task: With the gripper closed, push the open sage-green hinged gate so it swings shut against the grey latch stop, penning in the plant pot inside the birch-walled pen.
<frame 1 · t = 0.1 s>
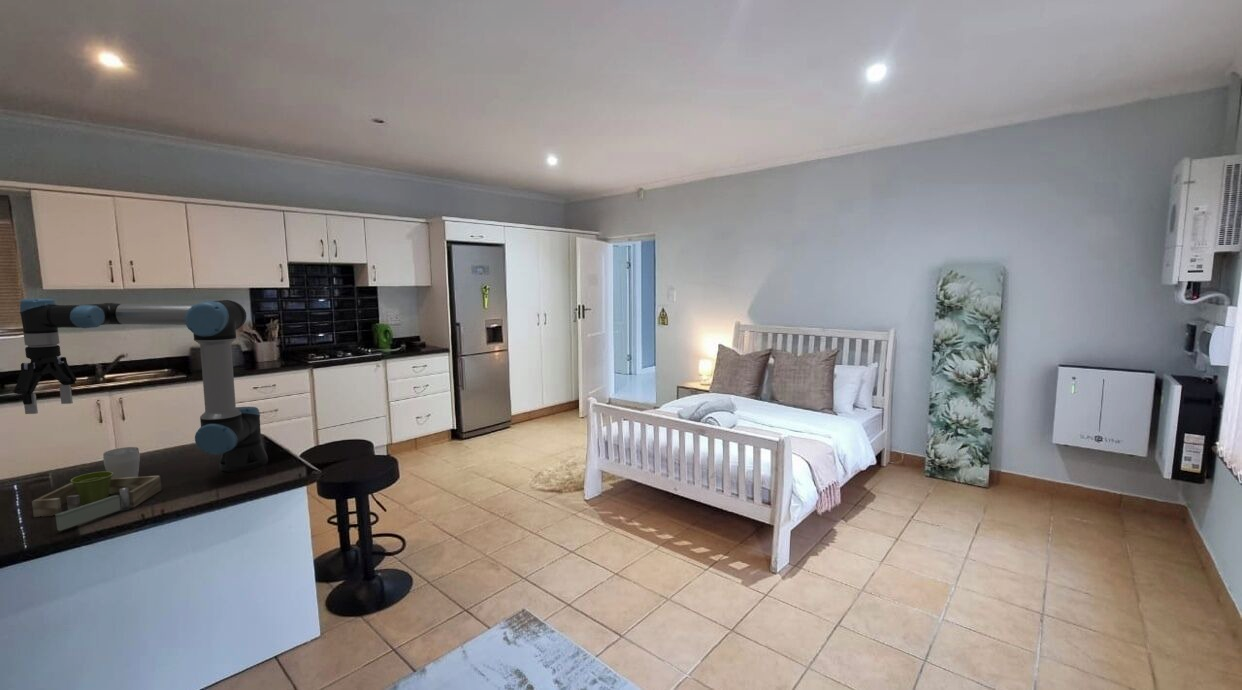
hand: (50, 408, 166), 28 cm above the table, fingers open, 13 cm apart
pen walls: (101, 502, 160), on the table
gate: (89, 512, 147), point 3 cm above the table, hinge at 60.0°
plant pot: (95, 502, 161), on the table
hinge post: (125, 509, 156), on the table
cup: (124, 484, 175), on the table
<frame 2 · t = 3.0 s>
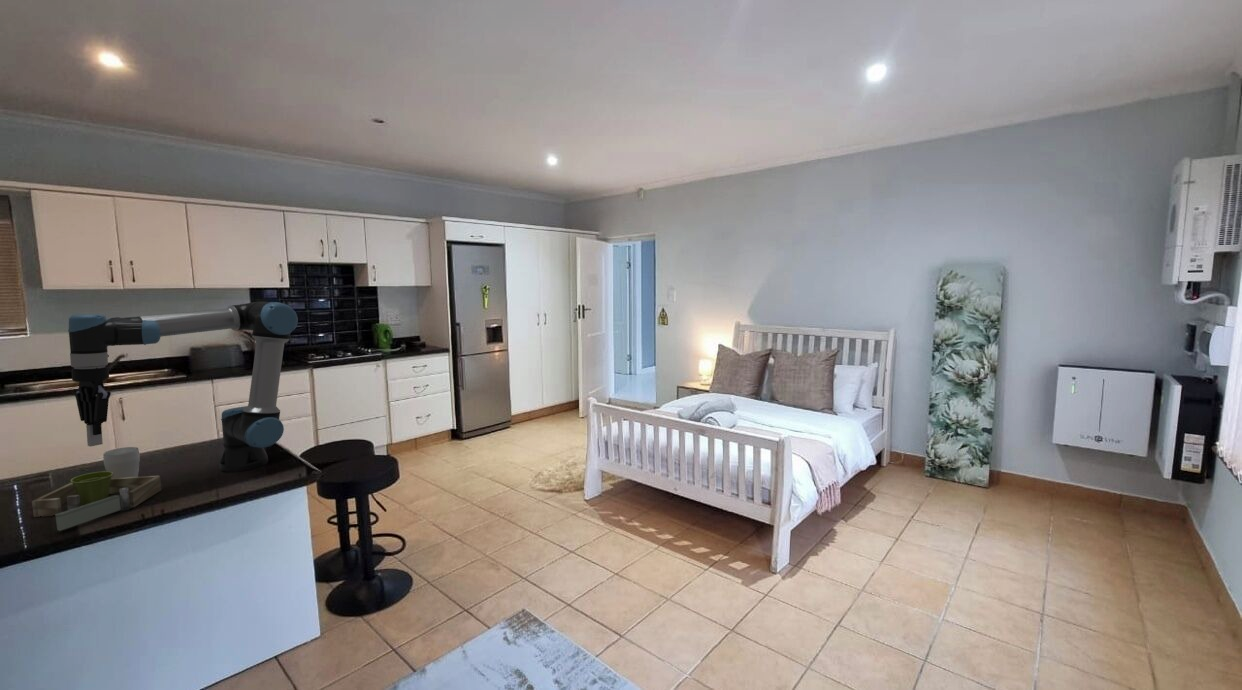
hand: (95, 444, 149), 23 cm above the table, fingers closed
nothing on the table moved.
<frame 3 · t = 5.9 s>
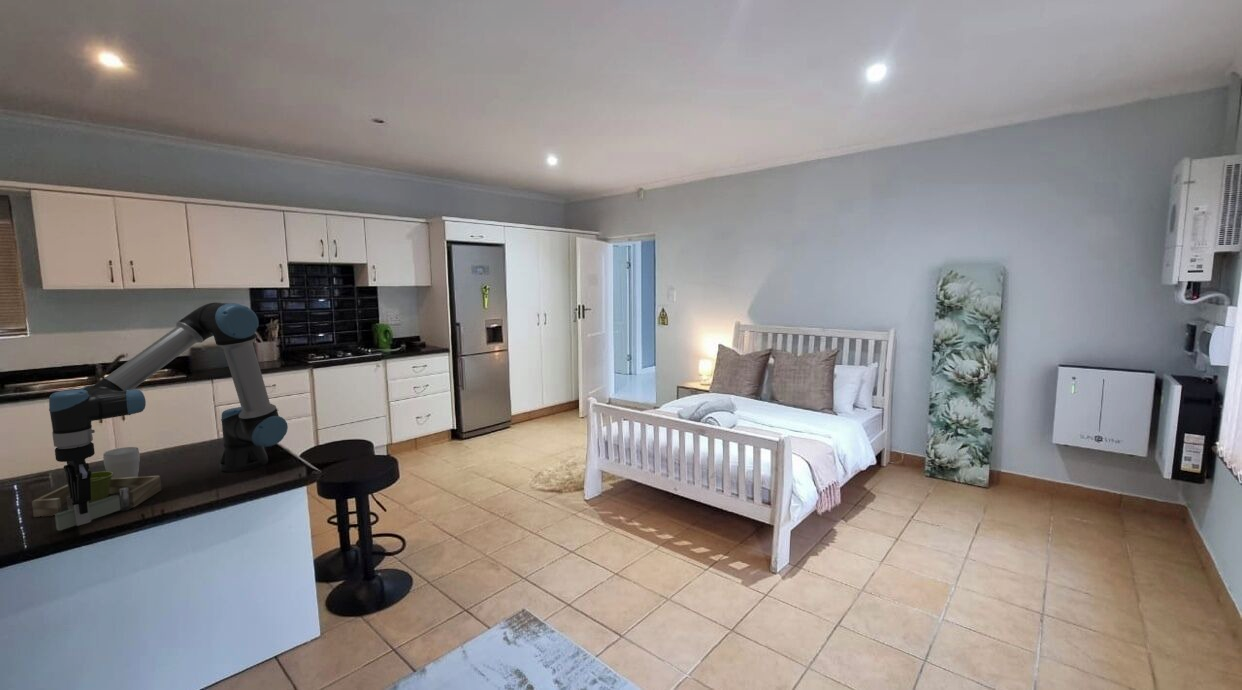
hand: (83, 523, 144), 1 cm above the table, fingers closed
gate: (89, 511, 147), point 3 cm above the table, hinge at 58.8°, touching gripper
everything else where it was.
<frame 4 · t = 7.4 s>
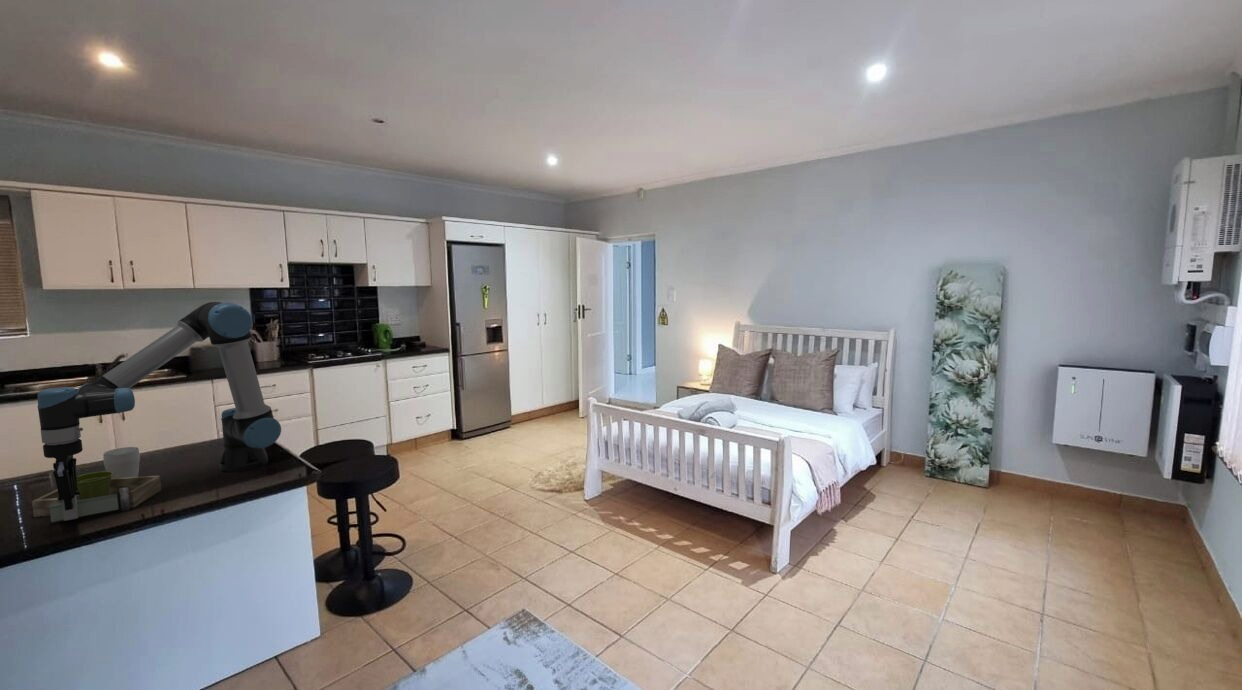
hand: (71, 518, 147), 1 cm above the table, fingers closed
gate: (85, 507, 150), point 3 cm above the table, hinge at 25.3°, touching gripper
everything else where it was.
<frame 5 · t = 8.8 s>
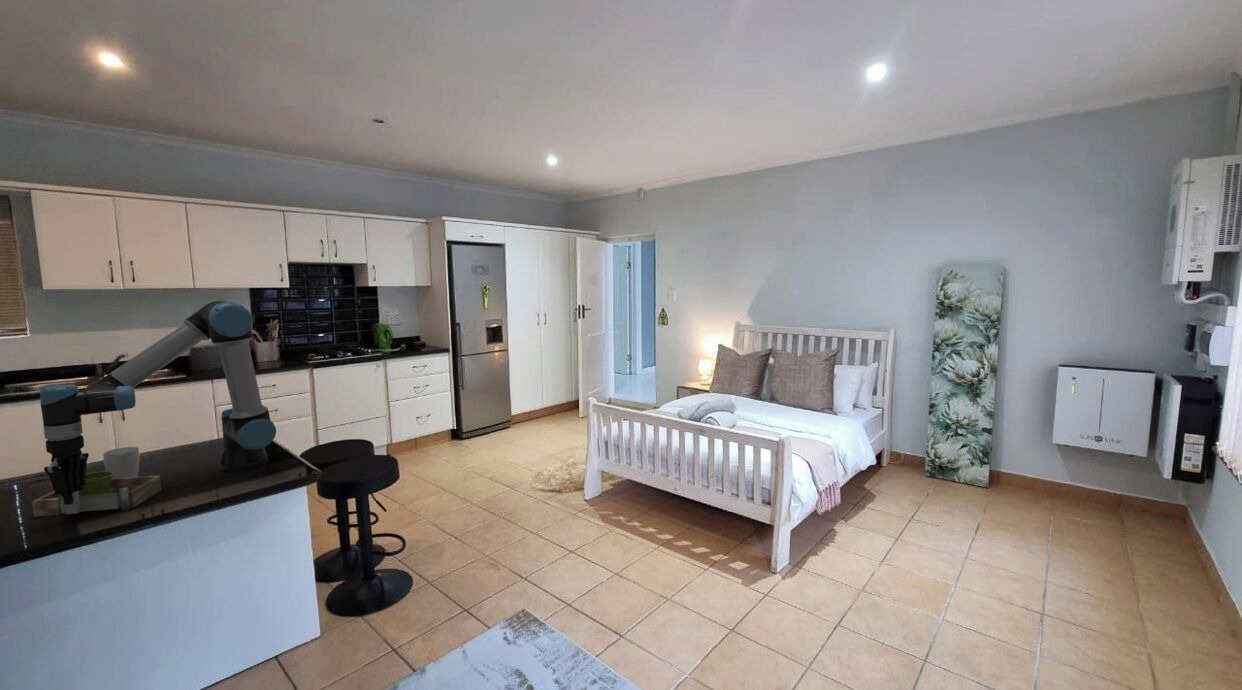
hand: (73, 512, 150), 1 cm above the table, fingers closed
gate: (90, 502, 153), point 3 cm above the table, hinge at 1.2°, touching gripper
everything else where it was.
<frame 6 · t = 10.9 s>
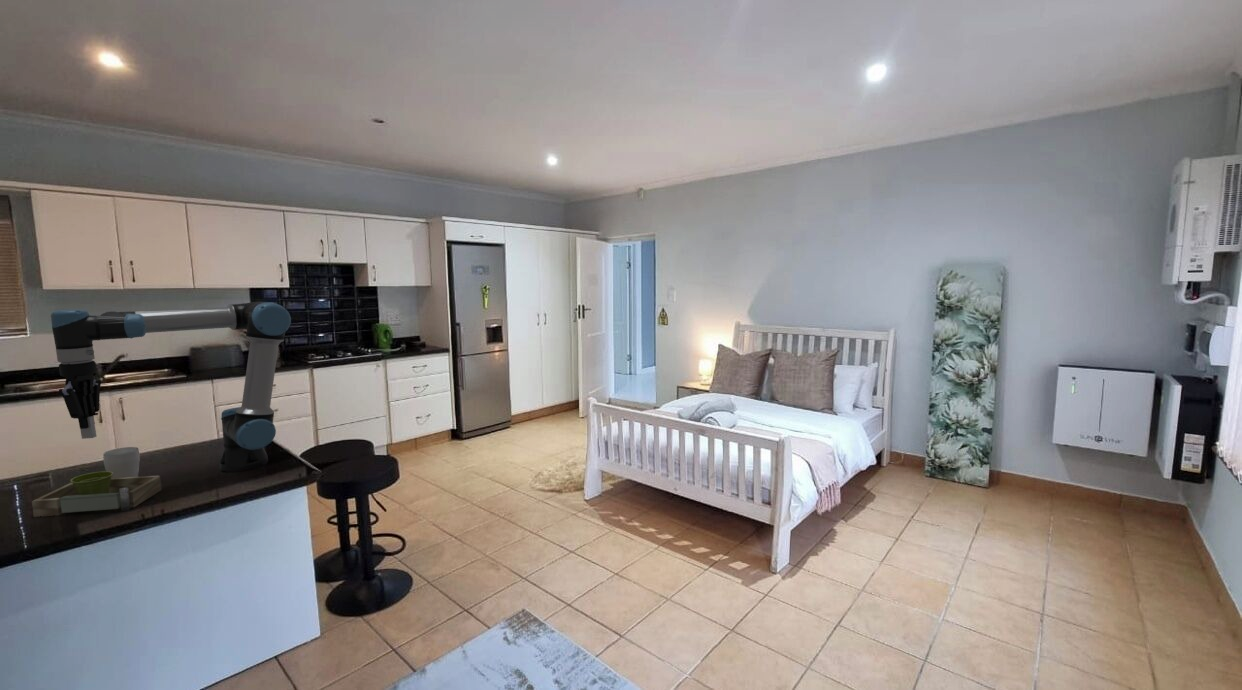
hand: (89, 437, 152), 24 cm above the table, fingers closed
gate: (91, 502, 153), point 3 cm above the table, hinge at 1.1°
everything else where it was.
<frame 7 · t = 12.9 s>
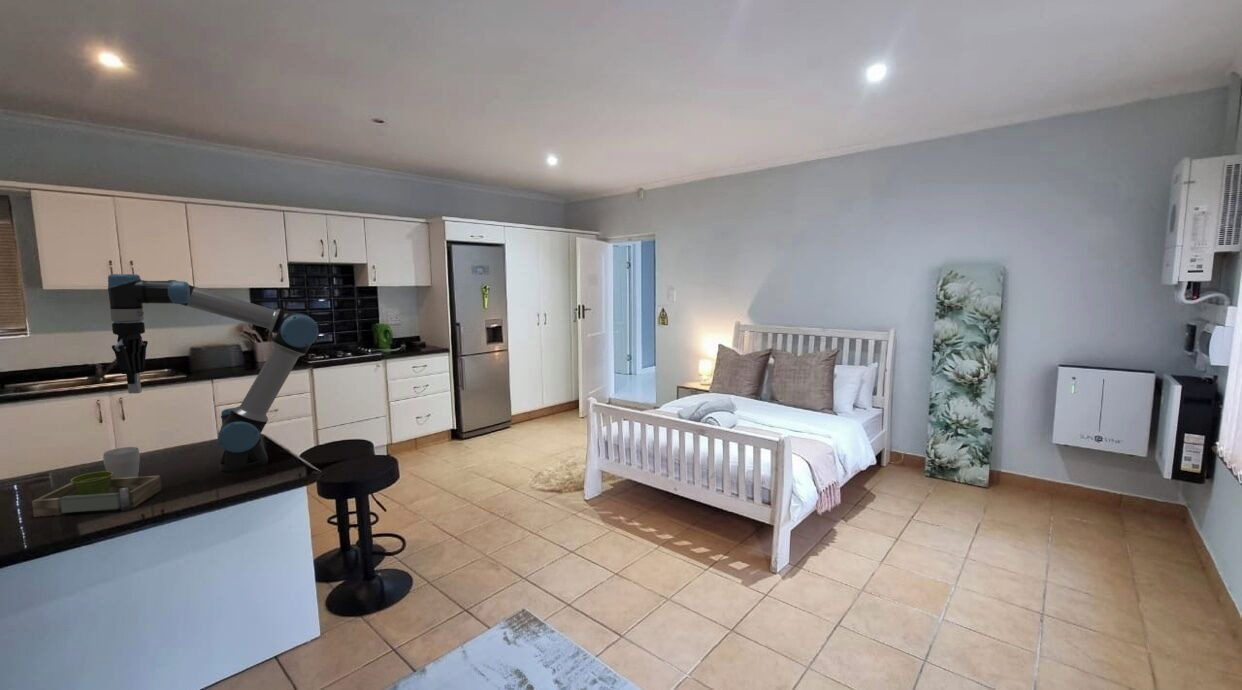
hand: (135, 392, 164), 34 cm above the table, fingers closed
nothing on the table moved.
at the end: gate at +1° (first picture: +60°); plant pot moved 0.2 cm from its start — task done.
